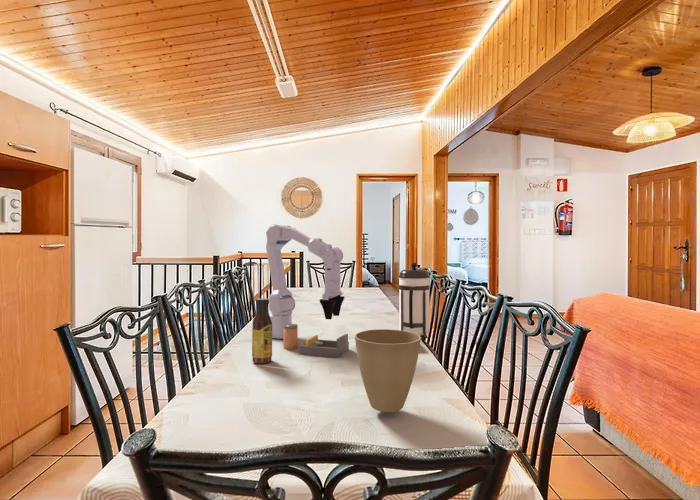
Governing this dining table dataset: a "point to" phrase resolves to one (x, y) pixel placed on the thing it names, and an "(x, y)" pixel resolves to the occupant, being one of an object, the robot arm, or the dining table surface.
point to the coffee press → (414, 301)
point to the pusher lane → (327, 347)
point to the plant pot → (387, 366)
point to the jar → (290, 336)
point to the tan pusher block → (313, 341)
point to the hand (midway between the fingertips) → (332, 317)
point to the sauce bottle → (262, 333)
